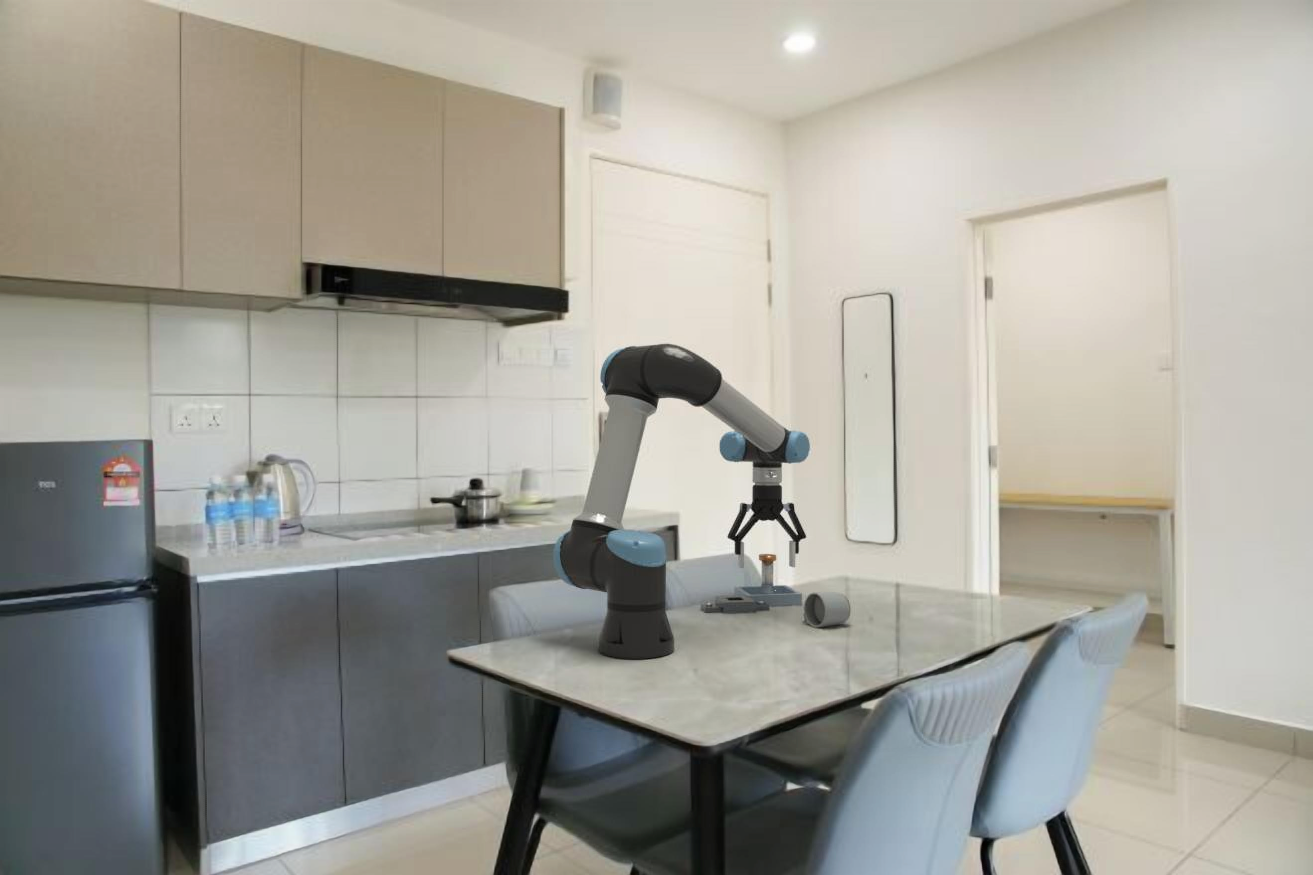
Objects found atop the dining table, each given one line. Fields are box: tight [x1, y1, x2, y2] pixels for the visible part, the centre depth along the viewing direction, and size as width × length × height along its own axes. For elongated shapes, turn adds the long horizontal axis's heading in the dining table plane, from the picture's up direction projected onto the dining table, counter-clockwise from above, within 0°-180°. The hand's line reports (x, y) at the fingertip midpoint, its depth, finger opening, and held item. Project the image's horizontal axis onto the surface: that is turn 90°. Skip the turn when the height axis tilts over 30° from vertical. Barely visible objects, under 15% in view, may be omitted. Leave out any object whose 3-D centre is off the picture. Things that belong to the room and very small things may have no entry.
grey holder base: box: [700, 595, 771, 614], centre depth 221 cm, size 16×8×3 cm, turn 100°
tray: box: [733, 584, 803, 607], centre depth 232 cm, size 14×13×3 cm
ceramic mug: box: [802, 591, 851, 629], centre depth 205 cm, size 11×8×8 cm
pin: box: [758, 553, 777, 595], centre depth 232 cm, size 4×4×11 cm
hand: (766, 567), depth 232 cm, fingers open, 13 cm apart
